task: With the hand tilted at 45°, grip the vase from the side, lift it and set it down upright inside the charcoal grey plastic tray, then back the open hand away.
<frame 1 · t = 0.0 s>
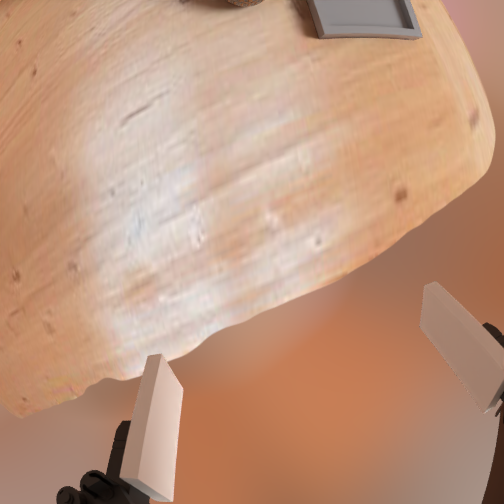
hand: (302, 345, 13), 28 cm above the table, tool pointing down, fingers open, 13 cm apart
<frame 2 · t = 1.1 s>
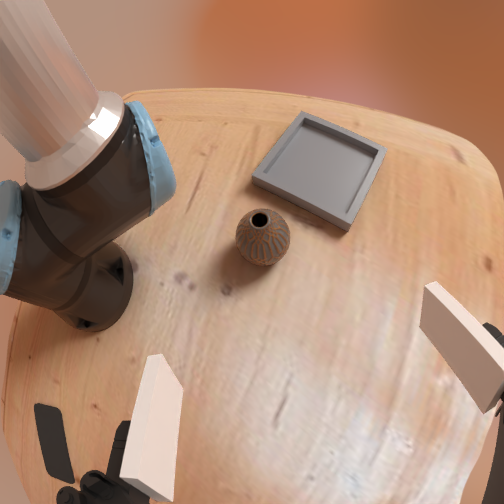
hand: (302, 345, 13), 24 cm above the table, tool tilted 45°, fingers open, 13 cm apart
vase: (265, 248, 41), on the table
tray: (322, 168, 44), on the table
phone: (55, 443, 33), on the table
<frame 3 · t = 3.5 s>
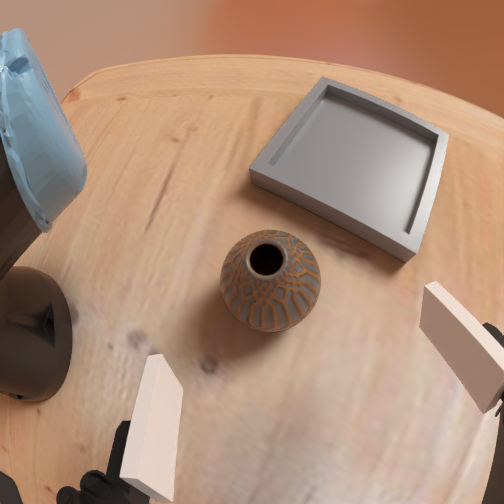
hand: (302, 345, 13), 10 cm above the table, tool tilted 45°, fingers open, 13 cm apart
vase: (272, 293, 24), on the table
tray: (360, 159, 27), on the table
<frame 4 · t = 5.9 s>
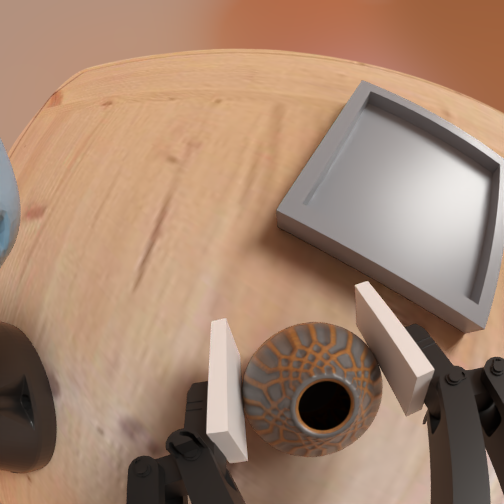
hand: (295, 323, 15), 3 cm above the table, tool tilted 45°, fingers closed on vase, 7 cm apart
vase: (306, 382, 17), on the table, touching gripper
tray: (414, 194, 20), on the table
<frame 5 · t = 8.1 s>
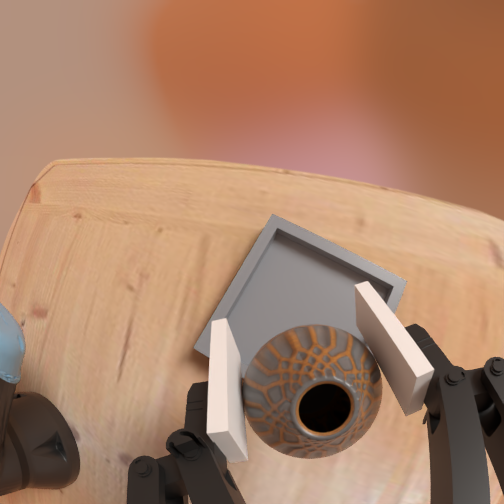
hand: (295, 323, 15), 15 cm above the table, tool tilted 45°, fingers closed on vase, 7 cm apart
vase: (306, 384, 17), point 12 cm above the table, touching gripper
tray: (304, 319, 30), on the table
when the fingers open (6 cm above the table, at t = 10.6 s): vase drops 1 cm, resting on tray.
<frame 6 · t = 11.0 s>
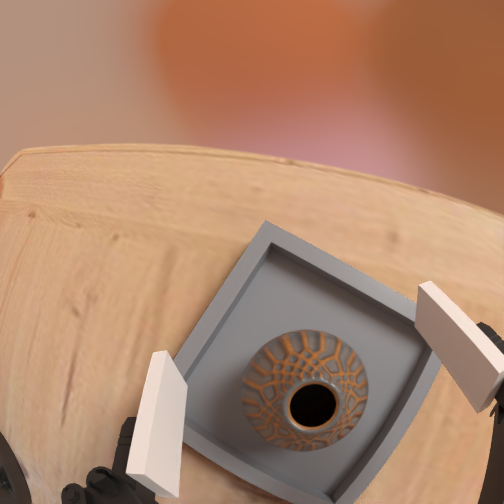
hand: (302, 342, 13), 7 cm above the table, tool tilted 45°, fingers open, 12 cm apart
vase: (300, 383, 18), point 1 cm above the table, touching tray
tray: (304, 379, 19), on the table
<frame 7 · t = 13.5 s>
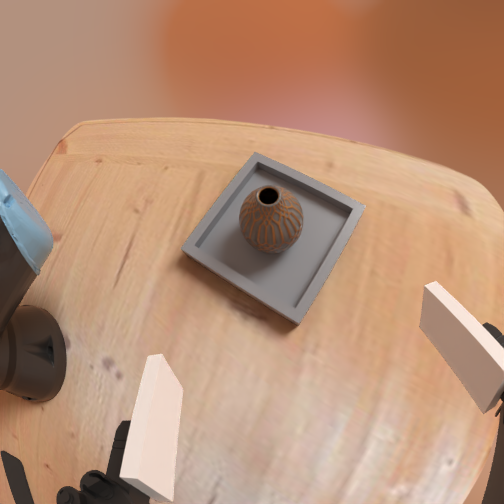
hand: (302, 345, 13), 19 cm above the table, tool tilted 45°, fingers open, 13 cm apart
vase: (273, 233, 35), point 1 cm above the table, touching tray
tray: (275, 234, 36), on the table
phone: (21, 486, 25), on the table
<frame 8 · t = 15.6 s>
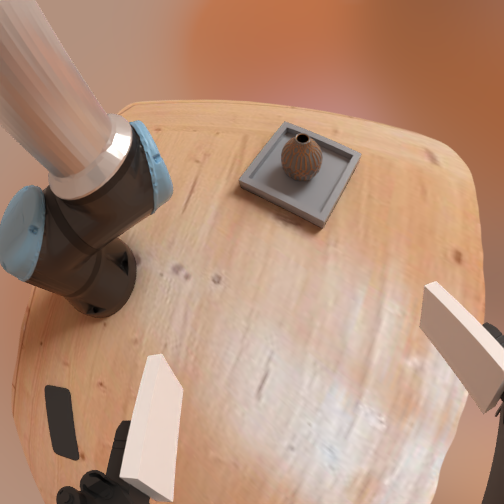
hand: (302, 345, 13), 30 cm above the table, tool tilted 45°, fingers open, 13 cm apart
vase: (301, 171, 50), point 1 cm above the table, touching tray
tray: (302, 173, 51), on the table
phone: (62, 422, 40), on the table
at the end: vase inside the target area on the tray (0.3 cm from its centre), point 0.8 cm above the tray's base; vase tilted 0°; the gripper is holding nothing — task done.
